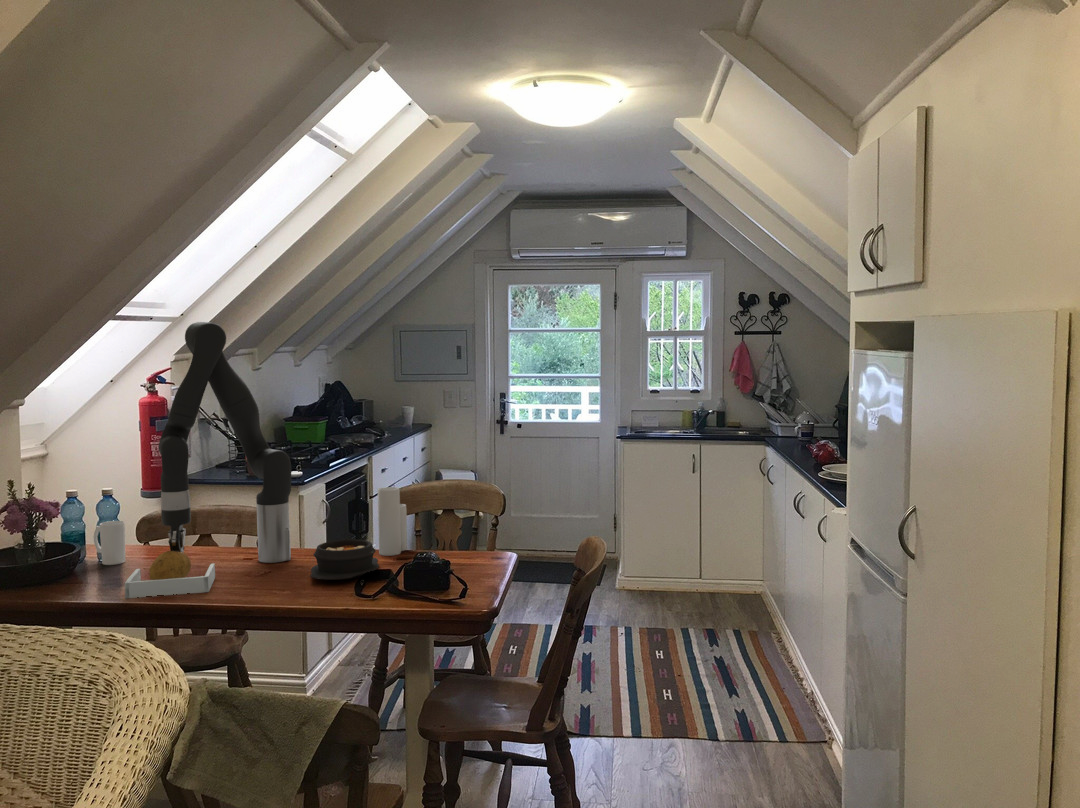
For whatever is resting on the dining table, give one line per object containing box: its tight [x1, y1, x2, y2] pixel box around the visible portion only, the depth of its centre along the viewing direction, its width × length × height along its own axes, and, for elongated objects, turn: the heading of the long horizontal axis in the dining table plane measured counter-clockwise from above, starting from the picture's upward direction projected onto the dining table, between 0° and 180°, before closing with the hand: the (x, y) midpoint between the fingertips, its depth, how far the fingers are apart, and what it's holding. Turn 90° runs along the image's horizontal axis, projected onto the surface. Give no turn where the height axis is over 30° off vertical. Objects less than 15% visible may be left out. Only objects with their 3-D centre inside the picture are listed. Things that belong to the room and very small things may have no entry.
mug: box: [93, 520, 126, 566], centre depth 259 cm, size 10×7×12 cm, turn 75°
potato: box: [148, 550, 192, 580], centre depth 231 cm, size 10×13×9 cm
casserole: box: [309, 538, 380, 581], centre depth 241 cm, size 25×19×8 cm
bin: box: [124, 563, 216, 600], centre depth 230 cm, size 20×15×4 cm
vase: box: [377, 486, 408, 557], centre depth 268 cm, size 11×7×20 cm, turn 169°
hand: (178, 568), depth 241 cm, fingers closed
